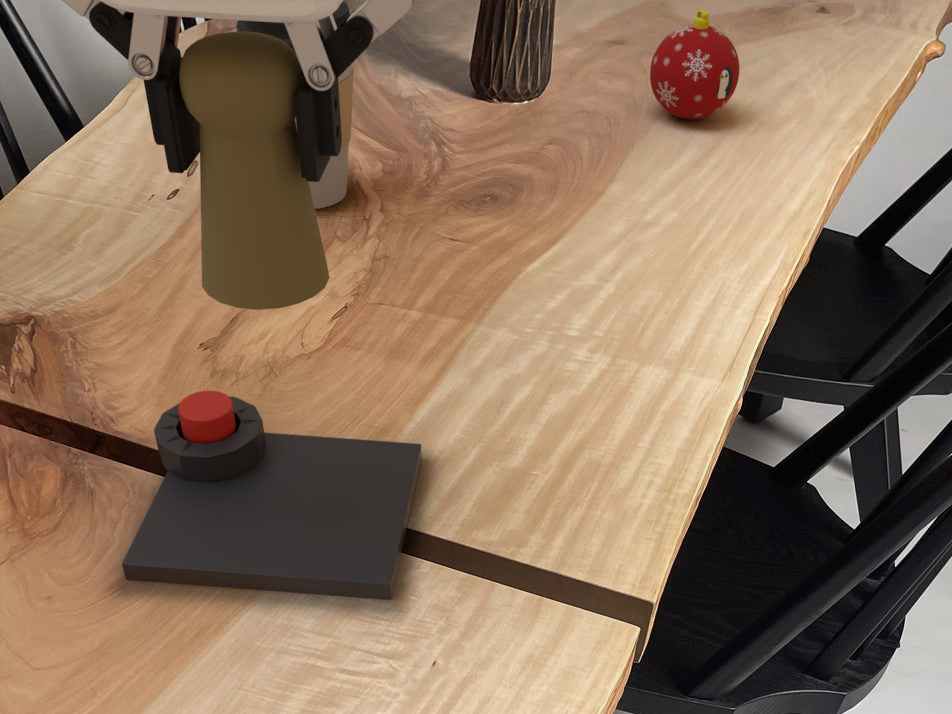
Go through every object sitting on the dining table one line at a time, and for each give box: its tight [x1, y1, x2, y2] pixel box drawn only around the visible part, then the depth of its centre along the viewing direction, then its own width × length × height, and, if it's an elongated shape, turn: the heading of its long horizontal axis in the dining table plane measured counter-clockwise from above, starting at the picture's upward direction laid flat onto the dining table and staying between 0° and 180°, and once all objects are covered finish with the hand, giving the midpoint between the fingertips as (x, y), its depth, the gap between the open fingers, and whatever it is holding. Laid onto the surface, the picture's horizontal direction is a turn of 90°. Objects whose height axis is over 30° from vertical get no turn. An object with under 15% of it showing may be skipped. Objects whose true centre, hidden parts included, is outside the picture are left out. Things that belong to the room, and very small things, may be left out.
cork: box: [179, 31, 330, 311], centre depth 49 cm, size 6×6×11 cm
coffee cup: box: [236, 0, 354, 210], centre depth 88 cm, size 9×9×15 cm
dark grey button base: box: [121, 395, 423, 601], centre depth 61 cm, size 15×13×3 cm
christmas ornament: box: [649, 9, 740, 120], centre depth 106 cm, size 9×9×10 cm
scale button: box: [178, 390, 236, 444], centre depth 63 cm, size 3×3×2 cm
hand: (251, 161), depth 49 cm, fingers closed on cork, 5 cm apart
